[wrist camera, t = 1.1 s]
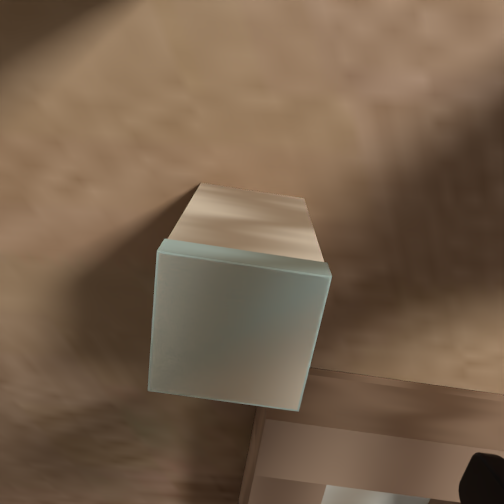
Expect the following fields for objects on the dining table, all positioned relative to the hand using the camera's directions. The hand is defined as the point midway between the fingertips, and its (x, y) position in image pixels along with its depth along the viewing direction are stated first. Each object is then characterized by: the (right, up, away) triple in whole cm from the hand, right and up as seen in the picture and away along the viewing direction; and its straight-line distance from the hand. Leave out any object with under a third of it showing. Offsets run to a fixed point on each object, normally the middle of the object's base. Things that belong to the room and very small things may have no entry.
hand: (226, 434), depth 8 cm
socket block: (+6, -8, +14) cm, 18 cm away
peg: (0, +4, +9) cm, 10 cm away
